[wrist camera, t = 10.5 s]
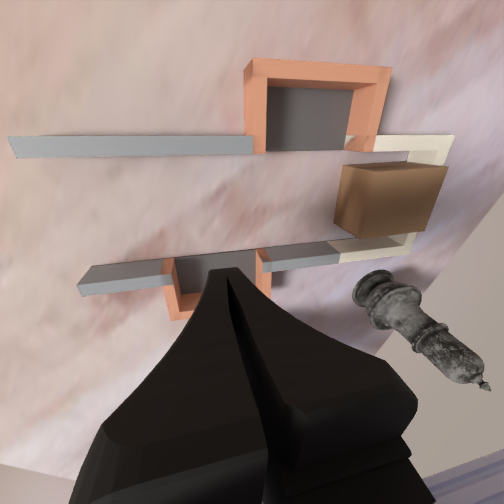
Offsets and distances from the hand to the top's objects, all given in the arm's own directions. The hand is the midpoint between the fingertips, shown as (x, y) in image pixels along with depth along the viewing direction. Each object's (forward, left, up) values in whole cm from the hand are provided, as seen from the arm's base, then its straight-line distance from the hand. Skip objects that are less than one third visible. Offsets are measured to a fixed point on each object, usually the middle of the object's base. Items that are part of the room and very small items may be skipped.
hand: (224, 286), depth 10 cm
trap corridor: (+1, -4, -9) cm, 10 cm away
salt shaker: (-10, -18, -9) cm, 22 cm away
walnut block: (+2, -14, -9) cm, 17 cm away
